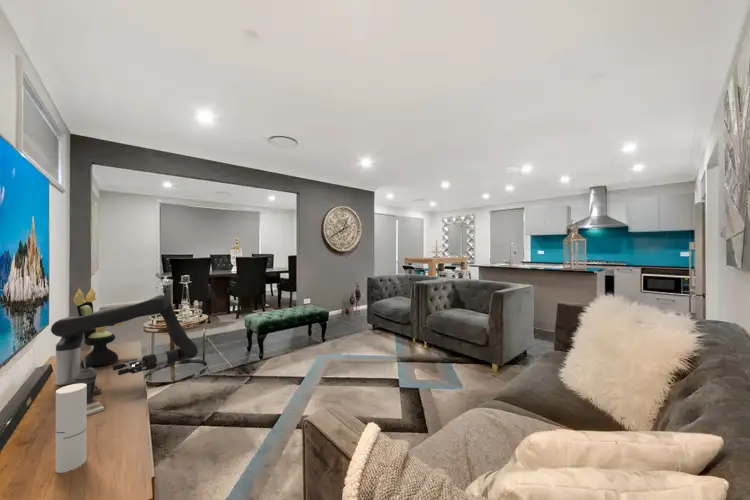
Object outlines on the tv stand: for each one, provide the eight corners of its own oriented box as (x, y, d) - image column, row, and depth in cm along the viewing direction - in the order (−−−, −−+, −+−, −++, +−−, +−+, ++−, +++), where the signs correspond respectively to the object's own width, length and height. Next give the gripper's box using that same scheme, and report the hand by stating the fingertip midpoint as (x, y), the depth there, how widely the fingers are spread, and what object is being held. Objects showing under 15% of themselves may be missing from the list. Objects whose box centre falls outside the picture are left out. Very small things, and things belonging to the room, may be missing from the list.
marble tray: (70, 394, 146) (70, 387, 146) (95, 387, 154) (95, 380, 153) (75, 400, 141) (75, 392, 141) (101, 393, 148) (101, 385, 148)
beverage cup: (83, 407, 135) (83, 361, 135) (70, 405, 137) (70, 360, 136) (101, 399, 142) (101, 356, 142) (88, 397, 144) (88, 354, 144)
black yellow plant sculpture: (107, 368, 178) (107, 289, 177) (60, 370, 173) (61, 290, 172) (125, 356, 196) (126, 285, 196) (84, 358, 191) (85, 286, 191)
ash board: (60, 414, 129) (60, 412, 129) (98, 403, 139) (98, 401, 139) (65, 422, 124) (65, 419, 124) (104, 409, 133) (104, 407, 133)
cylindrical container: (69, 457, 103) (69, 383, 103) (92, 456, 104) (92, 383, 104) (48, 473, 96) (48, 393, 96) (73, 472, 97) (73, 393, 97)
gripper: (149, 350, 165) (110, 359, 152) (160, 356, 157) (120, 366, 144) (149, 364, 165) (110, 374, 152) (160, 371, 157) (120, 382, 144)
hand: (115, 370), depth 148 cm, fingers open, 8 cm apart
